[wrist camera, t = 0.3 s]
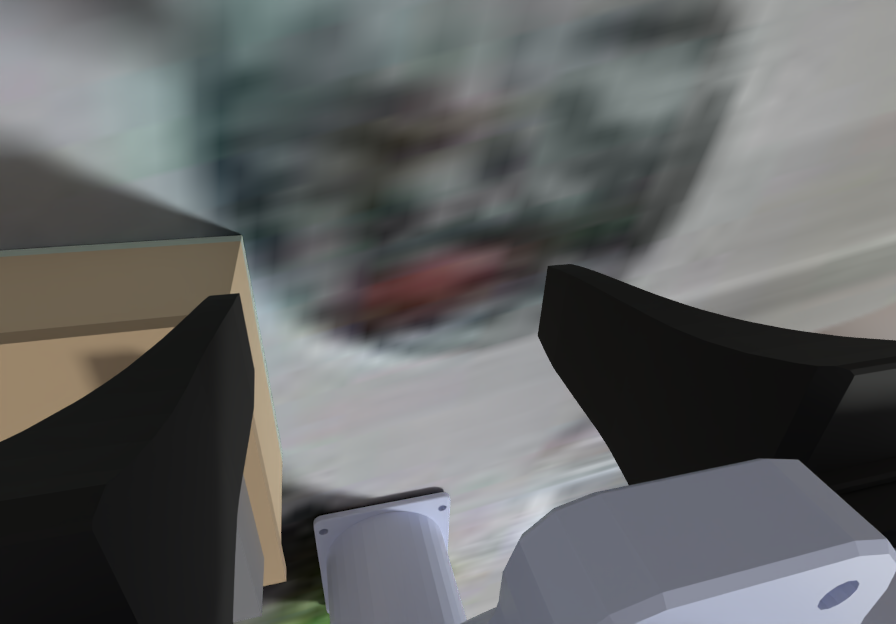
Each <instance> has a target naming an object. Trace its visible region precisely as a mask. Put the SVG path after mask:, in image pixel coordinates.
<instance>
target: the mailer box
mask: <svg viewBox="0 0 896 624" xmlns="http://www.w3.org/2000/svg"><path fill="white" fill-rule="evenodd" d="M235 293H240V298H241V303H242V308H243V313H244V318H245V323H246V328H247V333H248V339H249V344H250V349H251V354H252V359H253V364H254V369H255V390H254V411H253V414H254V419H255V424H256V428H257V433H258V438H259V442H260V447H261V452H262V456H263V461H264V466H265V470H266V475H267V480H268V484H269V489H270V494H271V498H272V503H273V508H274V512H275V517H276V522H277V526H278V531H279V536H280V540H281V511H282V449H281V443H280V438H279V433H278V427H277V422H276V416H275V411H274V406H273V400H272V395H271V389H270V384H269V379H268V373H267V368H266V362H265V357H264V351H263V346H262V341H261V335H260V330H259V324H258V319H257V314H256V308H255V303H254V297H253V292H252V287H251V281H250V276H249V270H248V265H247V260H246V254H245V249H244V243H243V238H242V235H236V236H220V237H205V238H189V239H173V240H157V241H142V242H126V243H110V244H94V245H78V246H63V247H47V248H31V249H15V250H0V333H5V332H15V331H26V330H36V329H47V328H57V327H67V326H78V325H88V324H99V323H109V322H119V321H130V320H140V319H151V318H161V317H171V316H182V315H188V314H190V313H191V312H192V311H193V310H194V309H195V308H196V307H197V306H198V305H199V304H200V303H201V302H202V301H203V300H205V299H206V298H207V297H208V296H212V295H223V294H235Z"/></svg>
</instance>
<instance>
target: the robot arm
mask: <svg viewBox="0 0 896 624" xmlns="http://www.w3.org/2000/svg"><path fill="white" fill-rule="evenodd" d="M538 337H539V339H540V341H541V344H542V346H543V348H544V350H545V352H546V354H547V356H548V358H549V360H550V362H551V364H552V366H553V368H554V369H555V371H556V372H557V374H558V375H559V376H560V378H561V379H562V381H563V382H564V384H565V385H566V387H567V388H568V389H569V391H570V392H571V394H572V395H573V397H574V398H575V399H576V401H577V402H578V404H579V405H580V406H581V408H582V409H583V411H584V412H585V413H586V415H587V416H588V418H589V419H590V420H591V422H592V423H593V425H594V426H595V427H596V429H597V430H598V432H599V433H600V435H601V436H602V438H603V440H604V441H605V443H606V444H607V446H608V448H609V449H610V451H611V453H612V455H613V457H614V458H615V460H616V462H617V464H618V466H619V468H620V469H621V471H622V473H623V475H624V477H625V479H626V480H627V482H628V484H629V486H624V487H619V488H614V489H610V490H605V491H600V492H595V493H592V494H589V495H587V496H584V497H582V498H579V499H576V500H574V501H571V502H569V503H566V504H564V505H561V506H558V507H556V508H554V509H552V510H551V511H550V512H549V513H548V514H546V515H545V516H544V517H543V518H541V519H540V520H539V521H538V522H537V523H535V524H534V525H533V526H532V527H530V528H529V529H528V530H527V531H526V532H524V533H523V534H522V536H521V538H520V539H519V541H518V543H517V545H516V547H515V549H514V551H513V553H512V555H511V557H510V559H509V561H508V563H507V565H506V567H505V569H504V571H503V575H502V582H501V589H500V596H499V602H498V605H497V607H496V608H493V609H491V610H489V611H486V612H484V613H482V614H480V615H478V616H476V617H473V618H471V619H469V620H467V619H466V615H465V612H464V608H463V605H462V601H461V598H460V594H459V591H458V588H457V584H456V581H455V577H454V574H453V570H452V567H451V563H450V560H449V556H448V553H447V552H448V534H449V516H450V497H449V494H448V493H445V492H440V493H435V494H429V495H424V496H419V497H414V498H409V499H404V500H398V501H393V502H388V503H383V504H378V505H372V506H367V507H362V508H357V509H352V510H347V511H341V512H336V513H331V514H326V515H321V516H318V517H317V518H315V520H314V522H313V524H314V533H315V539H316V546H317V552H318V558H319V565H320V571H321V577H322V584H323V590H324V596H325V603H326V609H327V612H328V613H329V614H330V624H896V341H895V340H894V341H893V340H880V339H867V338H853V337H842V336H833V335H826V334H818V333H811V332H803V331H797V330H791V329H784V328H779V327H774V326H768V325H763V324H758V323H753V322H748V321H744V320H739V319H735V318H731V317H727V316H723V315H720V314H716V313H712V312H708V311H705V310H701V309H698V308H694V307H691V306H688V305H685V304H682V303H679V302H676V301H673V300H670V299H667V298H664V297H661V296H659V295H656V294H653V293H650V292H648V291H645V290H642V289H640V288H637V287H635V286H632V285H629V284H627V283H624V282H622V281H619V280H617V279H614V278H611V277H609V276H606V275H604V274H601V273H598V272H596V271H593V270H590V269H587V268H584V267H580V266H577V265H572V264H566V265H555V266H548V269H547V276H546V283H545V290H544V297H543V303H542V310H541V317H540V324H539V331H538ZM254 390H255V369H254V364H253V359H252V354H251V349H250V344H249V339H248V333H247V328H246V323H245V318H244V313H243V308H242V303H241V298H240V293H235V294H223V295H212V296H208V297H207V298H206V299H205V300H203V301H202V302H201V303H200V304H199V305H198V306H197V307H196V308H195V309H194V310H193V311H192V312H191V313H190V314H188V315H187V316H186V317H185V318H184V319H183V320H182V321H181V322H180V323H179V324H178V325H177V326H176V327H174V328H173V329H172V330H171V331H170V332H169V333H168V334H167V335H166V336H165V337H164V338H162V339H161V340H160V341H159V342H158V343H156V344H155V345H154V346H153V347H151V348H150V349H149V350H148V351H147V352H145V353H144V354H143V355H142V356H140V357H139V358H138V359H137V360H135V361H134V362H133V363H132V364H131V365H129V366H128V367H127V368H125V369H124V370H123V371H121V372H120V373H119V374H117V375H116V376H114V377H113V378H111V379H110V380H109V381H107V382H106V383H104V384H103V385H101V386H100V387H98V388H96V389H95V390H93V391H92V392H90V393H89V394H87V395H86V396H84V397H83V398H81V399H79V400H78V401H76V402H74V403H72V404H71V405H69V406H67V407H65V408H63V409H62V410H60V411H58V412H56V413H54V414H53V415H51V416H49V417H47V418H45V419H44V420H42V421H40V422H38V423H37V424H35V425H33V426H31V427H29V428H27V429H26V430H24V431H22V432H20V433H18V434H16V435H13V436H11V437H9V438H7V439H5V440H3V441H1V442H0V624H233V604H234V577H235V552H236V533H237V514H238V505H239V497H240V490H241V484H242V478H243V472H244V466H245V460H246V454H247V448H248V442H249V436H250V430H251V424H252V418H253V411H254Z"/></svg>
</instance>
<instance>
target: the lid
mask: <svg viewBox="0 0 896 624" xmlns="http://www.w3.org/2000/svg"><path fill="white" fill-rule="evenodd" d="M186 316H187V315H182V316H171V317H161V318H151V319H140V320H130V321H119V322H109V323H99V324H88V325H78V326H67V327H57V328H47V329H36V330H26V331H15V332H5V333H0V442H1V441H3V440H5V439H7V438H9V437H11V436H13V435H16V434H18V433H20V432H22V431H24V430H26V429H27V428H29V427H31V426H33V425H35V424H37V423H38V422H40V421H42V420H44V419H45V418H47V417H49V416H51V415H53V414H54V413H56V412H58V411H60V410H62V409H63V408H65V407H67V406H69V405H71V404H72V403H74V402H76V401H78V400H79V399H81V398H83V397H84V396H86V395H87V394H89V393H90V392H92V391H93V390H95V389H96V388H98V387H100V386H101V385H103V384H104V383H106V382H107V381H109V380H110V379H111V378H113V377H114V376H116V375H117V374H119V373H120V372H121V371H123V370H124V369H125V368H127V367H128V366H129V365H131V364H132V363H133V362H134V361H135V360H137V359H138V358H139V357H140V356H142V355H143V354H144V353H145V352H147V351H148V350H149V349H150V348H151V347H153V346H154V345H155V344H156V343H158V342H159V341H160V340H161V339H162V338H164V337H165V336H166V335H167V334H168V333H169V332H170V331H171V330H172V329H173V328H174V327H176V326H177V325H178V324H179V323H180V322H181V321H182V320H183V319H184V318H185V317H186ZM285 581H286V564H285V559H284V554H283V550H282V545H281V540H280V536H279V531H278V526H277V522H276V517H275V512H274V508H273V503H272V498H271V494H270V489H269V484H268V480H267V475H266V470H265V466H264V461H263V456H262V452H261V447H260V442H259V438H258V433H257V428H256V424H255V419H254V414H253V418H252V424H251V430H250V436H249V442H248V448H247V454H246V460H245V466H244V472H243V478H242V484H241V490H240V497H239V505H238V514H237V533H236V552H235V577H234V604H233V622H237V621H242V620H246V619H250V618H255V617H259V616H262V600H263V586H267V585H272V584H276V583H281V582H285Z"/></svg>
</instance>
